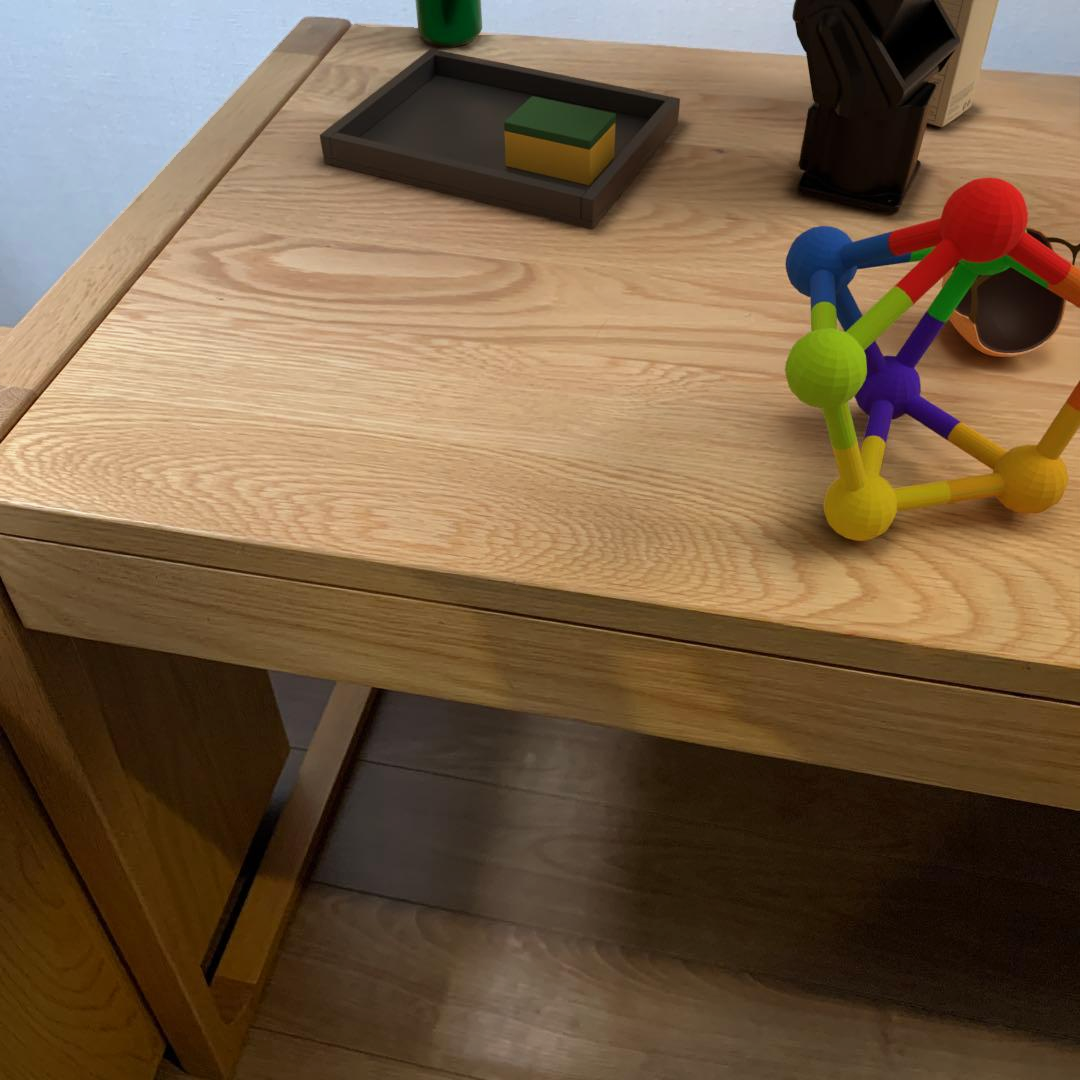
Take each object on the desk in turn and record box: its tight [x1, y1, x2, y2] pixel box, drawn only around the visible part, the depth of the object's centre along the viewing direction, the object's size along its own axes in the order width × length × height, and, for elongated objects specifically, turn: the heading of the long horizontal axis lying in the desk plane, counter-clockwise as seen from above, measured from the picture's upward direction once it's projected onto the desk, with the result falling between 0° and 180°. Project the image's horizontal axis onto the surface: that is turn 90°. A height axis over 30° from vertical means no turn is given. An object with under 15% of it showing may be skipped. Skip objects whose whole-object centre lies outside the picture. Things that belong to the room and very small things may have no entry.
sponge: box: [504, 96, 616, 185], centre depth 69 cm, size 4×6×3 cm, turn 64°
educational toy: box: [784, 177, 1080, 542], centre depth 45 cm, size 16×13×15 cm
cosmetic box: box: [927, 0, 1000, 128], centre depth 71 cm, size 6×4×12 cm
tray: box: [319, 48, 681, 230], centre depth 72 cm, size 20×15×2 cm
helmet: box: [941, 226, 1080, 358], centre depth 54 cm, size 6×7×8 cm
